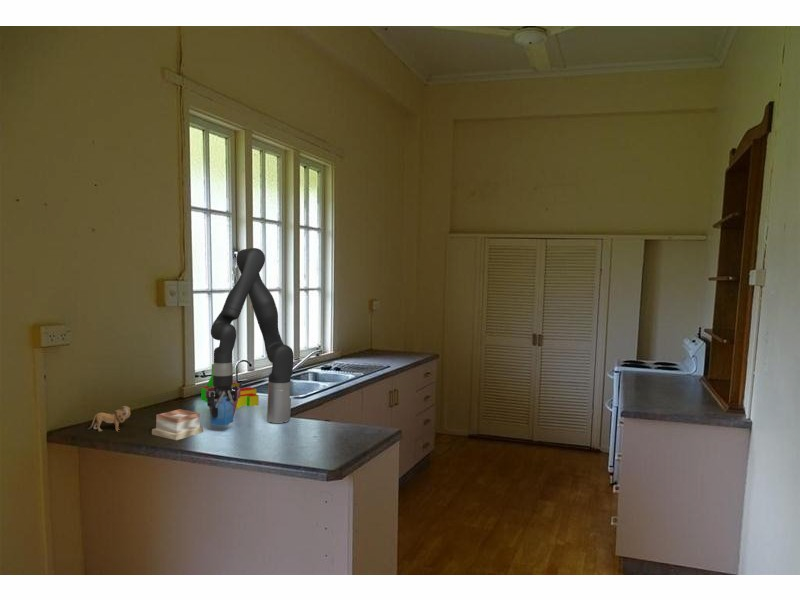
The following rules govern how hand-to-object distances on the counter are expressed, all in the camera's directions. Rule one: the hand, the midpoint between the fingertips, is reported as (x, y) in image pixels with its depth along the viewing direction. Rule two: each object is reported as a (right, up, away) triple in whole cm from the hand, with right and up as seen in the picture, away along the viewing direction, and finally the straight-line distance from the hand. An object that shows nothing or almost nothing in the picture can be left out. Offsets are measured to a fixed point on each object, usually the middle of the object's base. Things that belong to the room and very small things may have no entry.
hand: (222, 414), depth 215 cm
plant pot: (-6, -6, +19) cm, 20 cm away
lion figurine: (-42, -5, -5) cm, 42 cm away
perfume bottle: (0, -4, 0) cm, 4 cm away
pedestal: (-15, -6, -6) cm, 17 cm away
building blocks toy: (-11, -4, +48) cm, 49 cm away
